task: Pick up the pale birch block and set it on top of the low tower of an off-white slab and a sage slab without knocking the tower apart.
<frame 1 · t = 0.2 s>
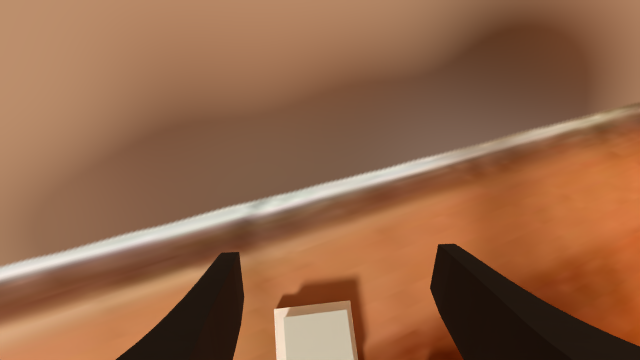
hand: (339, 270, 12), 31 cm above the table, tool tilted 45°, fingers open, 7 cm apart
bottom slab: (316, 345, 39), on the table, touching top slab
top slab: (318, 346, 37), point 2 cm above the table, touching bottom slab
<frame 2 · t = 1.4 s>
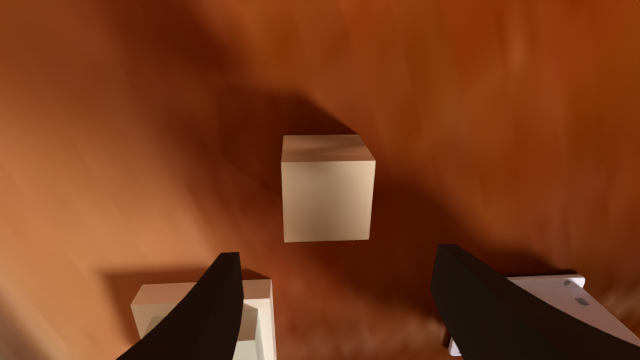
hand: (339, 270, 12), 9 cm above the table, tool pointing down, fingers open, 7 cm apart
birch block: (321, 169, 21), on the table
bottom slab: (217, 321, 26), on the table, touching top slab
top slab: (213, 349, 24), point 2 cm above the table, touching bottom slab
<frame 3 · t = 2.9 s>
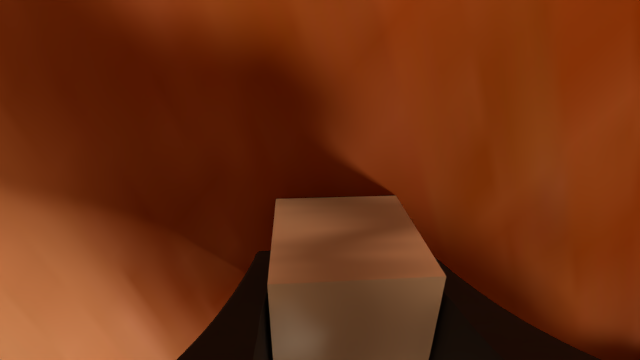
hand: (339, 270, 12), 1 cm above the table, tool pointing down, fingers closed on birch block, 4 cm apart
birch block: (335, 246, 13), on the table, touching gripper
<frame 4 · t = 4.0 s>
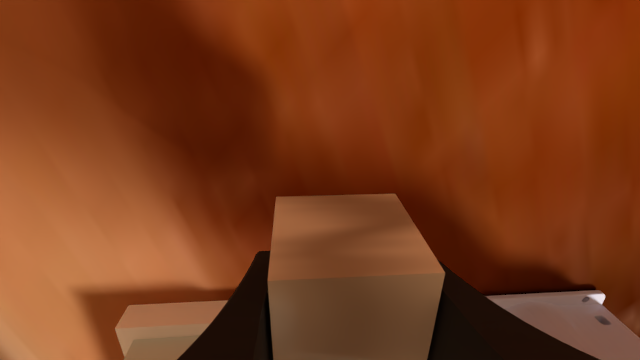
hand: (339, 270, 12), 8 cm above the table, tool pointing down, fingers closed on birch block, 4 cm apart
birch block: (334, 244, 13), point 6 cm above the table, touching gripper
bottom slab: (210, 341, 24), on the table, touching top slab
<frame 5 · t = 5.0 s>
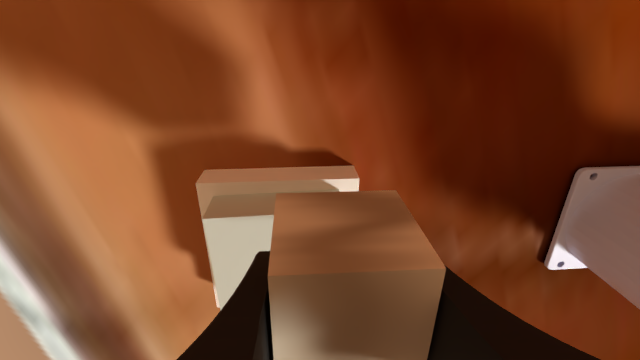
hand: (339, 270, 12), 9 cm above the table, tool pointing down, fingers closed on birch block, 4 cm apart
birch block: (335, 241, 13), point 8 cm above the table, touching gripper
bottom slab: (283, 225, 22), on the table, touching top slab
top slab: (281, 243, 20), point 2 cm above the table, touching bottom slab
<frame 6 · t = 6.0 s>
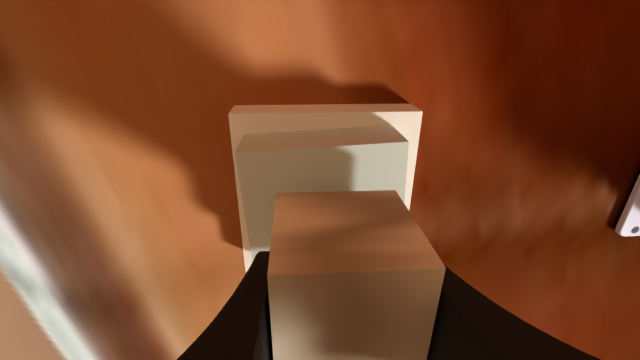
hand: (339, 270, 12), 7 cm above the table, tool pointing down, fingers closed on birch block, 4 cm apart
birch block: (334, 241, 13), point 6 cm above the table, touching gripper
bottom slab: (322, 179, 19), on the table, touching top slab
top slab: (321, 195, 17), point 2 cm above the table, touching bottom slab
when the fingers open (7 cm above the table, at t = 6.8 s): birch block drops 2 cm, resting on top slab.
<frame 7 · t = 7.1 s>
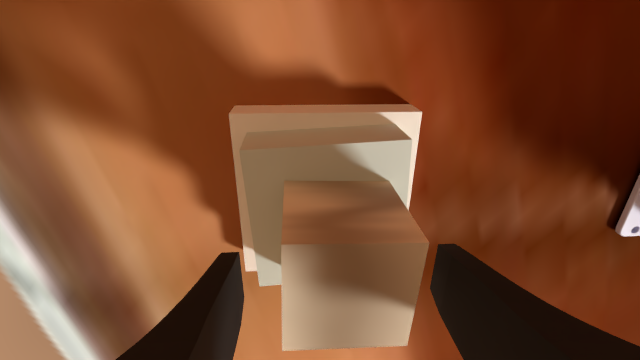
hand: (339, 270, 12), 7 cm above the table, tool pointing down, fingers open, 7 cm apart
birch block: (334, 226, 15), point 4 cm above the table, touching top slab
bottom slab: (322, 178, 19), on the table, touching top slab
top slab: (324, 193, 17), point 2 cm above the table, touching birch block, bottom slab
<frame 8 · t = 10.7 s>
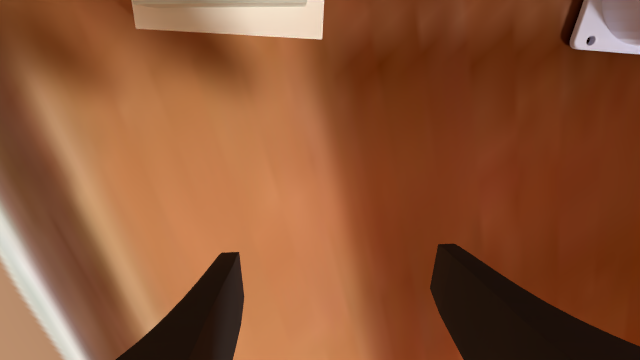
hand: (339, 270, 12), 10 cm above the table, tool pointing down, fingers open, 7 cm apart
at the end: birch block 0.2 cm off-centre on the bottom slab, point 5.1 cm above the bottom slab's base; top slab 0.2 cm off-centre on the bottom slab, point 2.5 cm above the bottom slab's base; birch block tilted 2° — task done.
